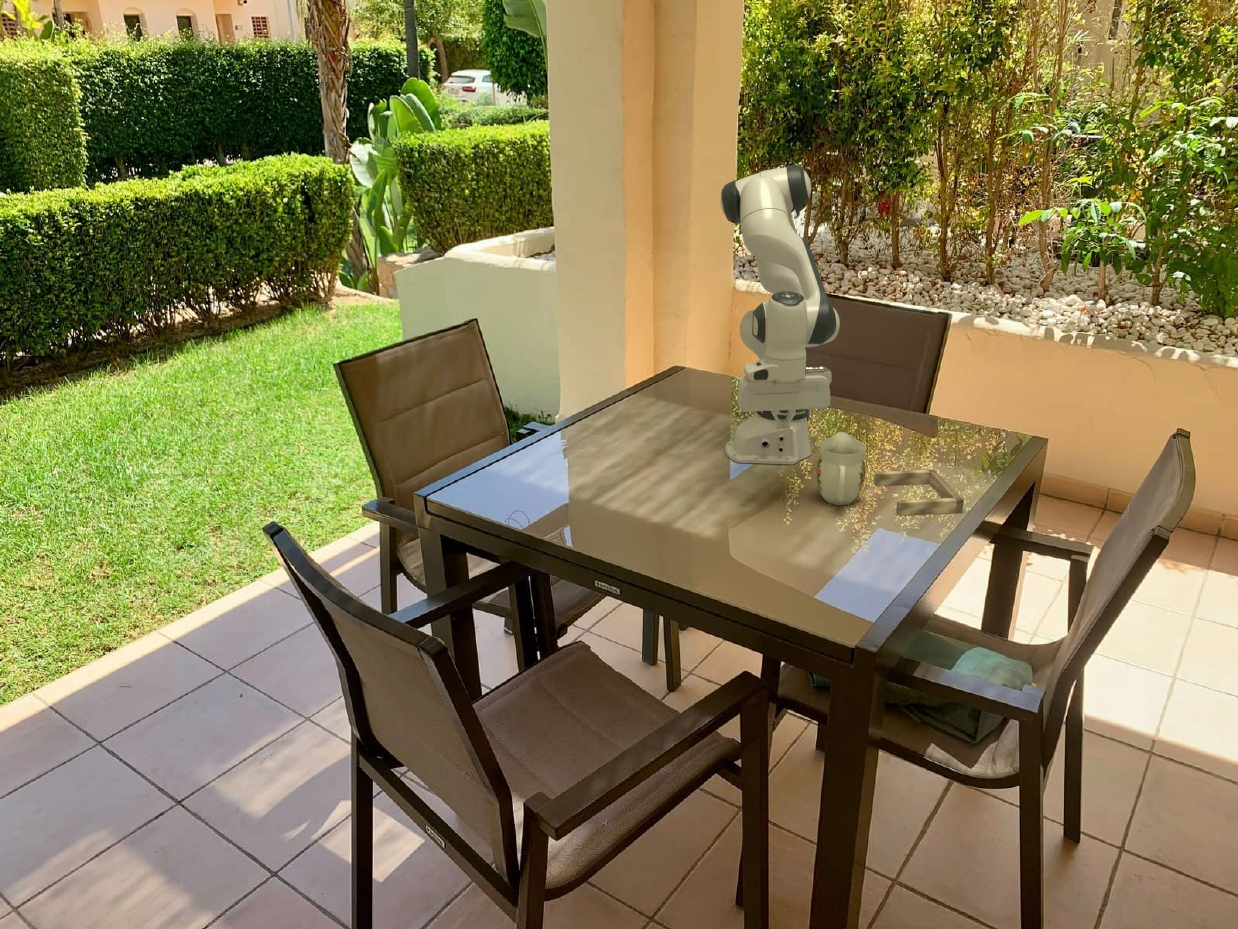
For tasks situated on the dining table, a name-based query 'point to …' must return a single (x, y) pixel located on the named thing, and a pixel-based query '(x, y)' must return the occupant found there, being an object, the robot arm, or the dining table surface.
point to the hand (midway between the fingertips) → (782, 427)
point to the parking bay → (922, 506)
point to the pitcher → (841, 468)
